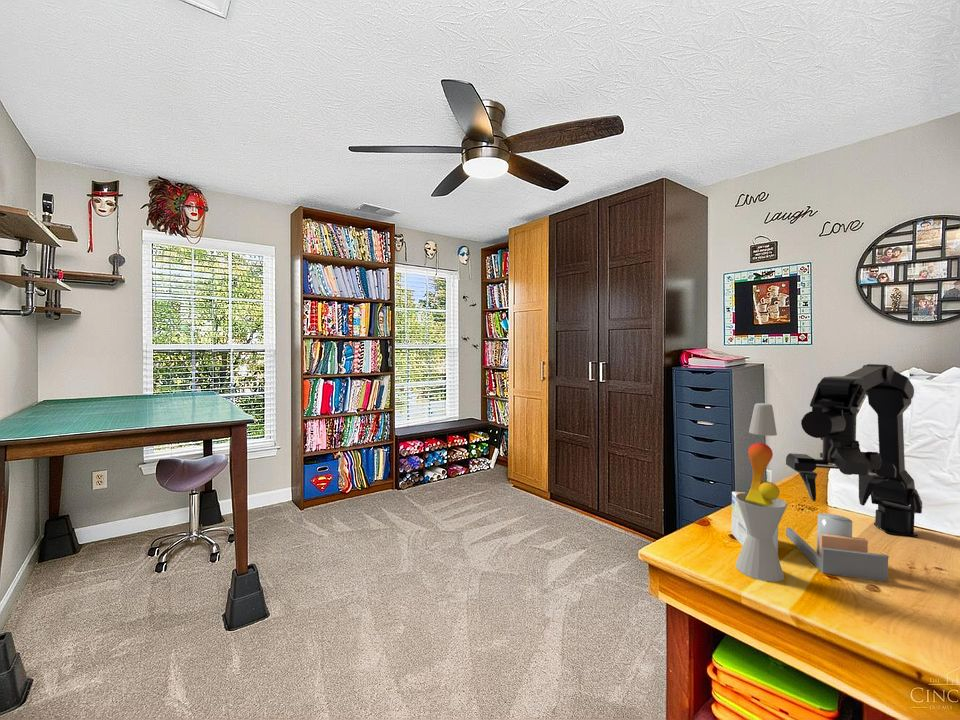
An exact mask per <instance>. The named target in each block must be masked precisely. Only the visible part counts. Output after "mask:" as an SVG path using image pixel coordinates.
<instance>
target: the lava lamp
mask: <svg viewBox="0 0 960 720" xmlns="http://www.w3.org/2000/svg"><path fill="white" fill-rule="evenodd" d="M777 432H778V431H777V427H776V421H775V414H774V409H773V404H770V403H762V402H760V403H759V402H758V403H755V404H754V405H753V411H752V417H751V421H750V425H749V430H748V433H749V434H752V435H757V436H769V437H771V436H775V437H776V436H777V435H778V433H777ZM747 452H748V454H747V455H748V458H749V460H750V465H751V469H752V481H751V485H750V489H749V491H748V492H741V493H740V494H737V495H736V498H737V501H738V504H739V507H740V510H741V513H742V516H743V519H744V522H745V525H746V528H747V531H748V534H747V537H746V539H745V542H744V544H743V546H742V547H741V550H740V552H739V555H738V557H737V559H736V563H735V565H736V567H735V569H736V568H737V569H738V570H739V571H738V570H737V569H736V570H737V571H738V572H740V573H741V572H742V573H741V574H743V575H744V574H745V576H747V577H749V578H752V579H755V580H758V579H759V580H758V581H764V582H769V583H770V582H771V583H775V582H781V581H783V580H784V579H785V575H784V571H783V569H782V565H781V562H780V558H779V555H778V554H777V552H776V549H775V545H774V542H773V539H772V537H773V535H774V533H775V531H776V529H777V526H778V527H779V525H780V522H781V520H782V517H783V515H784V514H785V511H786V509H787V507H788V503H787V502H786V501H785V500H783V499H781V498H779V496H780V493H781V492H780V489H779V487H778V486H777V484H776V483H773V482H771V481H764V475H765V472H766V469H767V468H768V465H769V464H770V462H771V460H773V456H774V455H773V449H772V448H771V447H770V446H769V445H768V444H766V443H763V442H755V443H753V444H751V445H750V446H749V448H748V450H747ZM735 565H734V566H735Z"/></svg>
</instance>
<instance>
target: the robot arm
mask: <svg viewBox="0 0 960 720" xmlns="http://www.w3.org/2000/svg"><path fill="white" fill-rule="evenodd" d="M815 388H816V389H815V390H814V393H813V396H812V398H811V401H810V404H809V407H810V408H811V411H809V412H807V413H805V414H804V415H803V417H802V418H801V421H800V425H801V428H802V430H803V432H804V433H805V434H807V436H810V437H811V438H814V439H820V441H822V452H820V453H819V457H820V458H814V457H812V456H810V455H809V454H805V453H804V454H803V453H788V454H787V456H786V457H785V465H786V466H788V467H789V468H791V469H792V470H794V471H795V472H797V473H798V474H799V476H800V478H801V479H802V481H803V482H804V483H803V484H804V485H805V487H806V490H807V492H808V495H809V497H810V499H811V501H812V502H816V500H817V490H816V489H817V488H816V486H817V485H816V478H817V476H818V473H816V472H815V470H816V469H817V468H819V469H832V470H834V469H837V470H839V471H840V473H842V474H843V475H847V476H851V475H857V476H858V499H859V500H858V502H859V505H861V506H863V507H864V506H865V505H866V504H867V502H868V500H869V498H870V500H871V501H870V502H871V504H872V505H877V509H875V519H874V523H873V525H874V526H875V525H876V526H875V527H877V526H878V527H879V529H880V528H881V529H882V531H883V530H884V531H885V532H884V531H883V532H884V533H886V532H887V533H886V534H888V533H891V534H890V535H896V534H903V535H902V536H905V535H911V536H910V537H915V536H918V537H919V534H918V533H916V532H915V514H922V513H923V512H922V511H923V500H922V499H921V496H920V494H919V491H918V490H917V489H916V486H915V479H913V477H912V476H911V475H910V473H909V472H908V471H907V470H906V466H905V463H906V462H905V441H904V439H905V437H904V436H905V435H904V413H905V412H906V410H907V409H908V408H909V406H911V404H912V400H913V398H914V394H915V388H914V385H913V383H912V382H911V381H910V379H909V378H908V377H907V376H905V375H903V374H901V373H900V372H897V371H896V370H894V367H893V366H891V365H889V364H877V363H876V364H875V363H868V364H863V366H862V367H861V368H859V369H857V370H855V371H852V372H850V373H848V374H846V375H843V376H840V375H839V376H838V375H837V376H833V375H831V376H824V377H823V378H821V380H820V381H819V382H818V384H817V386H816V387H815ZM865 396H867V400H868V402H867V403H868V405H869V406H870V407H871V408H872V410H873V411H874V412H875V413H876V414H877V428H878V429H877V433H878V435H877V436H878V451H861V448H860V441H859V440H857V438H856V437H857V414H858V413H859V407H860V405H861V404H862V403H863V400H864V398H865ZM878 527H877V528H878ZM881 529H880V530H881Z"/></svg>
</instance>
